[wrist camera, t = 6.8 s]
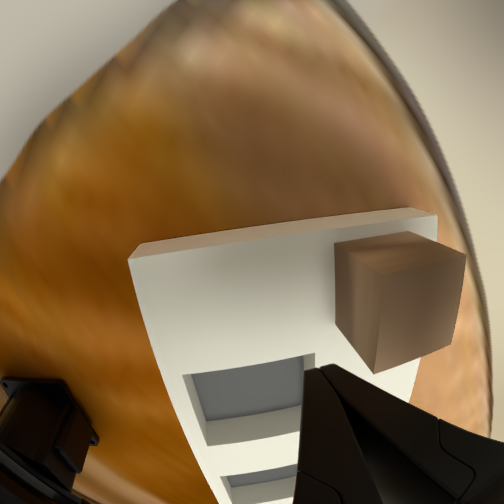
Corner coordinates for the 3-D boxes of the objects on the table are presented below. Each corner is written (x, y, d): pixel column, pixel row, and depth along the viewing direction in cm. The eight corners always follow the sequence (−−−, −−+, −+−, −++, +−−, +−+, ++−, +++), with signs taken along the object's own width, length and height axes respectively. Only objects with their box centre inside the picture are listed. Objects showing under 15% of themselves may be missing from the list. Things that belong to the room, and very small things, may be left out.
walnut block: (335, 324, 14) (373, 374, 10) (333, 242, 12) (382, 275, 9) (404, 306, 14) (450, 344, 10) (408, 231, 13) (466, 254, 9)
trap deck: (231, 510, 22) (234, 528, 20) (140, 243, 14) (127, 259, 11) (364, 479, 24) (372, 495, 21) (409, 207, 15) (437, 214, 13)
